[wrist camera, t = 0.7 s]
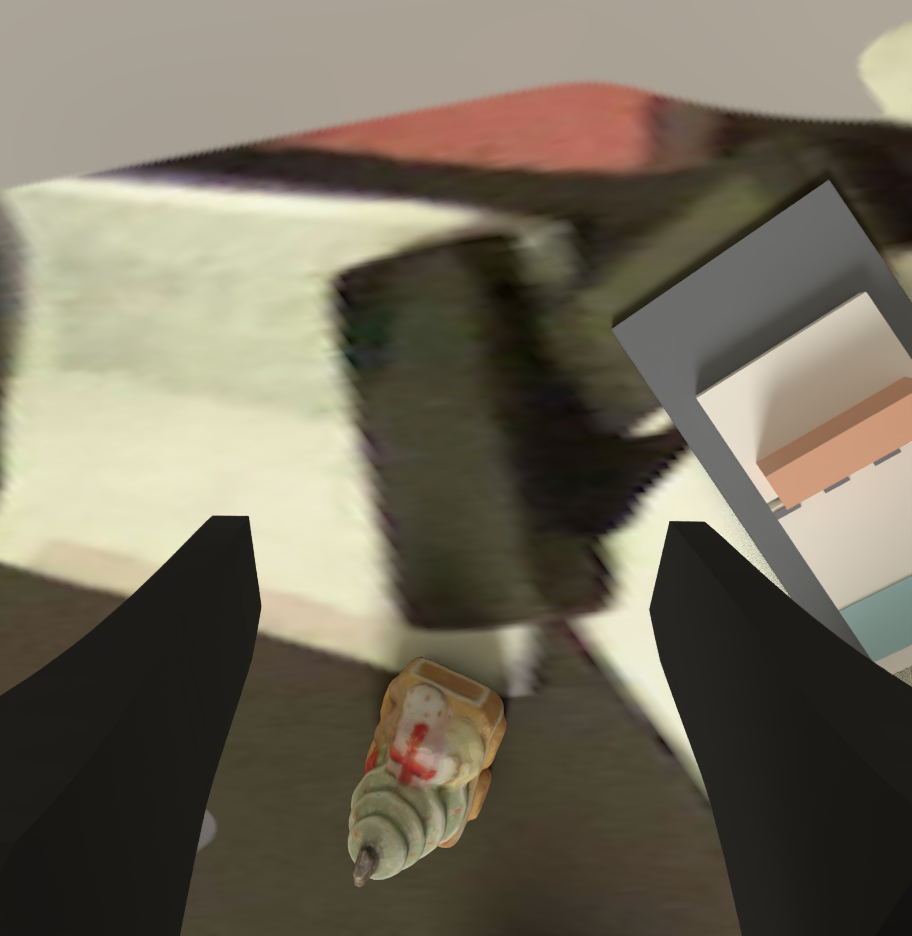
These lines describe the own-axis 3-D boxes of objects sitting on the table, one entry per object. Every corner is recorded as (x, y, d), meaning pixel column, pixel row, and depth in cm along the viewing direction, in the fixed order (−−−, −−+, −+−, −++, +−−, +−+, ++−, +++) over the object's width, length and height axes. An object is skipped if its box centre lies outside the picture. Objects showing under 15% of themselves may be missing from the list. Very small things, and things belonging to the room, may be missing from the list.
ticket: (1053, 583, 29) (1070, 594, 28) (876, 665, 31) (884, 679, 30) (935, 408, 29) (947, 412, 28) (767, 503, 31) (771, 510, 30)
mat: (1091, 574, 29) (1096, 577, 28) (850, 685, 32) (852, 689, 31) (826, 181, 29) (828, 179, 28) (611, 329, 32) (611, 329, 31)
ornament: (399, 637, 37) (307, 742, 28) (520, 673, 36) (467, 796, 26) (374, 777, 39) (279, 921, 29) (488, 817, 37) (428, 981, 28)
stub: (932, 402, 29) (973, 413, 25) (763, 497, 31) (777, 521, 27) (858, 293, 29) (889, 287, 25) (695, 396, 31) (699, 405, 27)
